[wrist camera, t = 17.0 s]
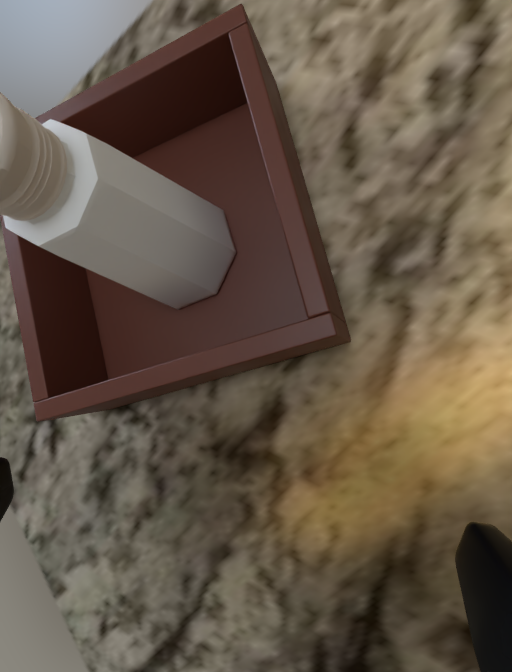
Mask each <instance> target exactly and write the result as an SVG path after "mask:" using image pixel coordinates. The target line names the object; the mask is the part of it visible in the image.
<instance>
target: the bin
mask: <svg viewBox="0 0 512 672" xmlns="http://www.w3.org/2000/svg"><path fill="white" fill-rule="evenodd" d="M35 119H36V120H37V121H38V122H39V123H41V124H43V123H45V122H46V121H48V120H50V119H52V120H55V121H58V122H60V123H63V124H65V125H68V126H70V127H73V128H75V129H78V130H80V131H83V132H85V133H86V134H88V135H90V136H92V137H94V138H96V139H98V140H100V141H102V142H105V143H107V144H108V145H110V146H112V147H114V148H115V149H117V150H119V151H121V152H122V153H124V154H126V155H127V156H129V157H131V158H133V159H134V160H136V161H138V162H140V163H141V164H143V165H145V166H147V167H148V168H150V169H152V170H154V171H155V172H157V173H159V174H161V175H162V176H164V177H166V178H168V179H169V180H171V181H173V182H175V183H176V184H178V185H180V186H182V187H183V188H185V189H187V190H189V191H190V192H192V193H194V194H196V195H197V196H199V197H201V198H203V199H204V200H206V201H208V202H210V203H211V204H213V205H215V206H217V207H218V208H220V209H222V210H224V214H225V217H226V220H227V223H228V226H229V230H230V233H231V236H232V239H233V243H234V246H235V249H236V254H235V256H234V259H233V261H232V263H231V265H230V267H229V269H228V271H227V273H226V276H225V278H224V280H223V282H222V284H221V286H220V288H219V290H218V293H217V294H216V295H213V296H211V297H208V298H206V299H203V300H201V301H198V302H196V303H193V304H191V305H188V306H186V307H183V308H181V309H178V310H177V309H175V308H173V307H171V306H169V305H166V304H164V303H162V302H160V301H157V300H155V299H153V298H151V297H149V296H146V295H144V294H142V293H140V292H137V291H135V290H133V289H131V288H128V287H126V286H124V285H122V284H120V283H117V282H115V281H113V280H111V279H108V278H106V277H104V276H102V275H99V274H97V273H95V272H93V271H91V270H88V269H86V268H84V267H82V266H79V265H77V264H75V263H73V262H71V261H68V260H66V259H64V258H62V257H59V256H57V255H55V254H53V253H51V252H49V251H47V250H45V249H43V248H41V247H39V246H37V245H35V244H33V243H31V242H30V241H28V240H26V239H24V238H22V237H20V236H19V235H17V234H15V233H13V232H12V231H10V230H8V229H7V228H6V227H5V222H4V218H3V215H0V219H1V225H2V230H3V236H4V241H5V247H6V253H7V258H8V264H9V269H10V275H11V280H12V286H13V292H14V297H15V303H16V308H17V314H18V319H19V325H20V331H21V336H22V342H23V347H24V353H25V358H26V364H27V370H28V375H29V381H30V386H31V392H32V397H33V402H35V403H34V408H35V414H36V419H37V421H38V422H39V421H45V420H51V419H57V418H63V417H69V416H75V415H81V414H87V413H92V412H98V411H104V410H110V409H113V408H117V407H120V406H124V405H128V404H131V403H135V402H138V401H142V400H145V399H149V398H152V397H156V396H160V395H163V394H167V393H170V392H174V391H177V390H181V389H184V388H188V387H192V386H195V385H199V384H202V383H206V382H209V381H213V380H216V379H220V378H223V377H227V376H231V375H234V374H238V373H241V372H245V371H248V370H252V369H255V368H259V367H263V366H266V365H270V364H273V363H277V362H280V361H284V360H287V359H291V358H295V357H298V356H302V355H305V354H309V353H312V352H316V351H319V350H323V349H327V348H330V347H334V346H337V345H341V344H344V343H348V342H350V341H351V338H350V335H349V331H348V328H347V324H346V321H345V317H344V314H343V311H342V307H341V304H340V300H339V297H338V293H337V290H336V287H335V283H334V280H333V276H332V273H331V270H330V266H329V263H328V259H327V256H326V252H325V249H324V246H323V242H322V239H321V235H320V232H319V228H318V225H317V222H316V218H315V215H314V211H313V208H312V204H311V201H310V198H309V194H308V191H307V187H306V184H305V180H304V177H303V174H302V170H301V167H300V163H299V160H298V157H297V153H296V150H295V146H294V143H293V139H292V136H291V133H290V129H289V126H288V122H287V119H286V115H285V112H284V109H283V105H282V102H281V98H280V95H279V91H278V88H277V85H276V81H275V79H274V77H273V75H272V72H271V70H270V67H269V65H268V63H267V60H266V58H265V56H264V53H263V51H262V49H261V47H260V44H259V42H258V40H257V37H256V35H255V33H254V30H253V28H252V26H251V23H250V21H249V19H248V16H247V14H246V12H245V9H244V7H243V5H242V4H239V5H238V6H236V7H234V8H232V9H230V10H229V11H227V12H225V13H223V14H221V15H220V16H218V17H216V18H214V19H212V20H211V21H209V22H207V23H205V24H204V25H202V26H200V27H198V28H196V29H195V30H193V31H191V32H189V33H187V34H186V35H184V36H182V37H180V38H178V39H177V40H175V41H173V42H171V43H169V44H168V45H166V46H164V47H162V48H160V49H159V50H157V51H155V52H153V53H151V54H150V55H148V56H146V57H144V58H142V59H141V60H139V61H137V62H135V63H133V64H132V65H130V66H128V67H126V68H124V69H123V70H121V71H119V72H117V73H115V74H114V75H112V76H110V77H108V78H106V79H105V80H103V81H101V82H99V83H97V84H96V85H94V86H92V87H90V88H88V89H87V90H85V91H83V92H81V93H79V94H78V95H76V96H74V97H72V98H70V99H69V100H67V101H65V102H63V103H61V104H60V105H58V106H56V107H54V108H52V109H51V110H49V111H47V112H45V113H43V114H42V115H40V116H38V117H36V118H35Z"/></svg>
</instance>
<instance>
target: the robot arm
mask: <svg viewBox="0 0 512 672" xmlns="http://www.w3.org/2000/svg"><path fill="white" fill-rule="evenodd" d="M13 494H14V487H13V481H12V475H11V470H10V464H9V462H8V460H7V459H5V458H2V457H0V521H1V519H2V518H3V516H4V514H5V512H6V511H7V509H8V507H9V505H10V503H11V501H12V498H13ZM455 562H456V568H457V573H458V578H459V582H460V587H461V591H462V596H463V601H464V605H465V610H466V615H467V619H468V624H469V628H470V633H471V638H472V642H473V646H474V650H475V654H476V658H477V661H478V664H479V668H480V671H481V672H512V541H511V540H510V539H508V538H507V537H506V536H505V535H504V534H503V533H502V532H501V531H499V530H498V529H497V528H496V527H495V526H493V525H491V524H486V523H478V522H470V523H469V524H467V526H466V528H465V530H464V533H463V535H462V538H461V540H460V543H459V545H458V548H457V551H456V556H455Z"/></svg>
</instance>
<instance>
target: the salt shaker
mask: <svg viewBox="0 0 512 672" xmlns="http://www.w3.org/2000/svg"><path fill="white" fill-rule="evenodd" d="M0 215H3V218H4V222H5V227H6V228H7V229H8V230H10V231H12V232H13V233H15V234H17V235H19V236H20V237H22V238H24V239H26V240H28V241H30V242H31V243H33V244H35V245H37V246H39V247H41V248H43V249H45V250H47V251H49V252H51V253H53V254H55V255H57V256H59V257H62V258H64V259H66V260H68V261H71V262H73V263H75V264H77V265H79V266H82V267H84V268H86V269H88V270H91V271H93V272H95V273H97V274H99V275H102V276H104V277H106V278H108V279H111V280H113V281H115V282H117V283H120V284H122V285H124V286H126V287H128V288H131V289H133V290H135V291H137V292H140V293H142V294H144V295H146V296H149V297H151V298H153V299H155V300H157V301H160V302H162V303H164V304H166V305H169V306H171V307H173V308H175V309H177V310H178V309H181V308H183V307H186V306H188V305H191V304H193V303H196V302H198V301H201V300H203V299H206V298H208V297H211V296H213V295H216V294H217V293H218V290H219V288H220V286H221V284H222V282H223V280H224V278H225V276H226V273H227V271H228V269H229V267H230V265H231V263H232V261H233V259H234V256H235V254H236V249H235V246H234V243H233V239H232V236H231V233H230V230H229V226H228V223H227V220H226V217H225V214H224V210H222V209H220V208H218V207H217V206H215V205H213V204H211V203H210V202H208V201H206V200H204V199H203V198H201V197H199V196H197V195H196V194H194V193H192V192H190V191H189V190H187V189H185V188H183V187H182V186H180V185H178V184H176V183H175V182H173V181H171V180H169V179H168V178H166V177H164V176H162V175H161V174H159V173H157V172H155V171H154V170H152V169H150V168H148V167H147V166H145V165H143V164H141V163H140V162H138V161H136V160H134V159H133V158H131V157H129V156H127V155H126V154H124V153H122V152H121V151H119V150H117V149H115V148H114V147H112V146H110V145H108V144H107V143H105V142H102V141H100V140H98V139H96V138H94V137H92V136H90V135H88V134H86V133H85V132H83V131H80V130H78V129H75V128H73V127H70V126H68V125H65V124H63V123H60V122H58V121H55V120H52V119H50V120H48V121H46V122H45V123H43V124H41V123H39V122H38V121H37V120H36V119H35V118H32V117H31V116H30V115H29V114H27V113H25V112H24V111H23V110H21V109H19V108H17V107H14V106H13V105H12V103H11V102H10V101H9V100H8V99H7V98H6V97H5V96H4V95H3V94H2V93H1V92H0Z"/></svg>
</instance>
